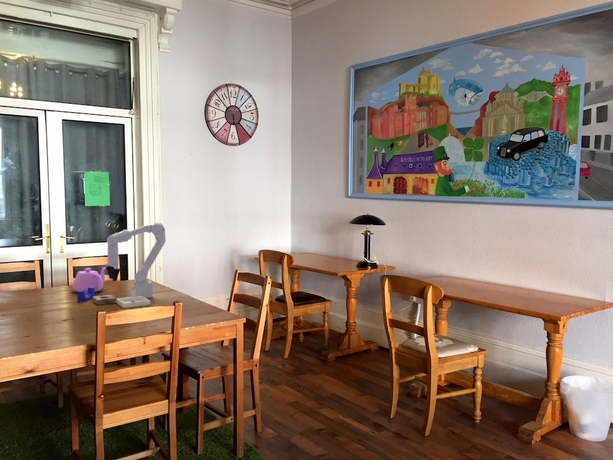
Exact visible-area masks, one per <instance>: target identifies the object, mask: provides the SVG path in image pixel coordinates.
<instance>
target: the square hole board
mask: <svg viewBox="0 0 613 460" xmlns="http://www.w3.org/2000/svg"><path fill="white" fill-rule="evenodd" d="M92 302H93V303H95V304H96V306H97V305H107V303H108V304H115V303H116V304H117V297H115V296H114V295H112V294H108V295H107V294H106V295H97V296H95V295H94V297H93V298H92Z"/></svg>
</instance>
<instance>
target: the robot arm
mask: <svg viewBox="0 0 613 460" xmlns="http://www.w3.org/2000/svg"><path fill="white" fill-rule="evenodd" d="M143 233H149V234H153V235H154V237H155V240H156V242H155V243H154V245H153V246H152V249H151V250H150V252H149V253H148V255H147V257H146V259H145V261H144V263H142V266H141V267H140V269H139V270H137V271H136V273H135V274H134V286H135V297H136V296H143V297H145V298H147V299H148V298H149V299H150V298H153V297H154V296H153V293H154V292H153V289H154V288H153V283H152V281H150V280H148V274H149V271H150V269H151V268H152V266H153V264H154V262H155V261H156V259H157V257H158V255H159V254H160V252H161V250H162V249H163V247H164V245H165V244H166V241H167V240H166V229H165V227H164V225H163V224H162V223H160V222H155V223H150V224H146V225H143V226H140V227H138V228H134V229H132V230H130V229H122V231H119V232H114V234H111V235H109V236H107V238H106V242H107V263H105V267H106V269H105V270H106V271H107V274H108V279H110V280H111V279H112V281H113V282H117V281H118V278H119V274H120V271H121V268H119V265H120V263H119V243H120V244H121V243H123V242H126V241H129V240H131V239H132V238H133V237H134V236H137V235H140V234H143Z"/></svg>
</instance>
